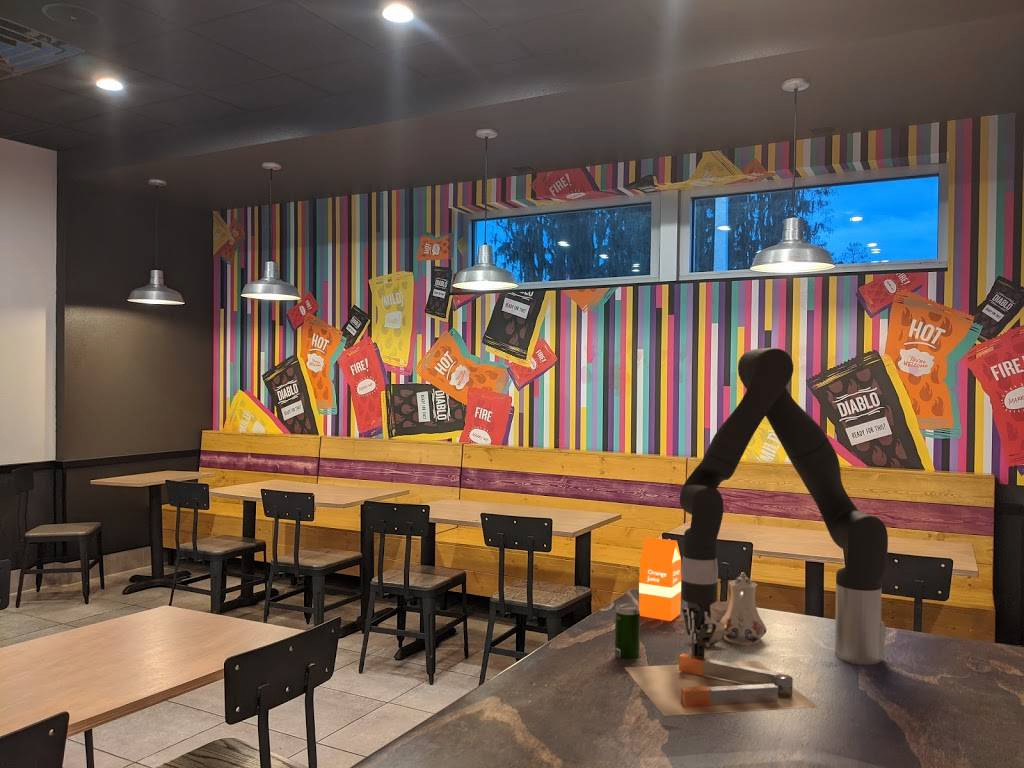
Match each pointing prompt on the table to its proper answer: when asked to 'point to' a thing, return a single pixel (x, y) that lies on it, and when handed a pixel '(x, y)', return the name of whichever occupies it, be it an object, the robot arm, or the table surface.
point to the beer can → (627, 631)
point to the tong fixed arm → (728, 695)
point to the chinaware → (737, 615)
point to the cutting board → (668, 681)
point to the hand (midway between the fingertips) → (697, 659)
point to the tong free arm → (736, 673)
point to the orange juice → (660, 579)
